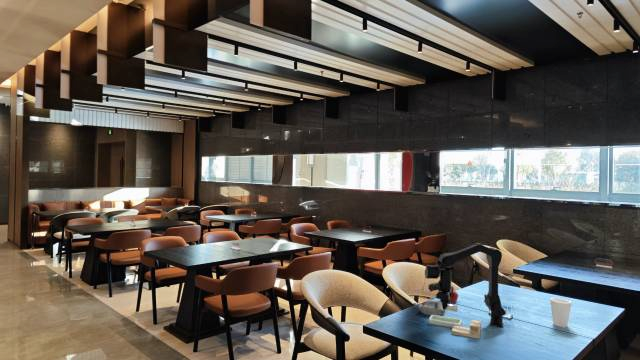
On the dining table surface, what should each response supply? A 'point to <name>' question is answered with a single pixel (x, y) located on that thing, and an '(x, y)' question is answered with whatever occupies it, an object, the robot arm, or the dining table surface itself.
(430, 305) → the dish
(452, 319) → the tray
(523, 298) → the dining table surface
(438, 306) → the pin
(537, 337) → the dining table surface
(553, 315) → the foam cup
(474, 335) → the bracket
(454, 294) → the pomegranate
